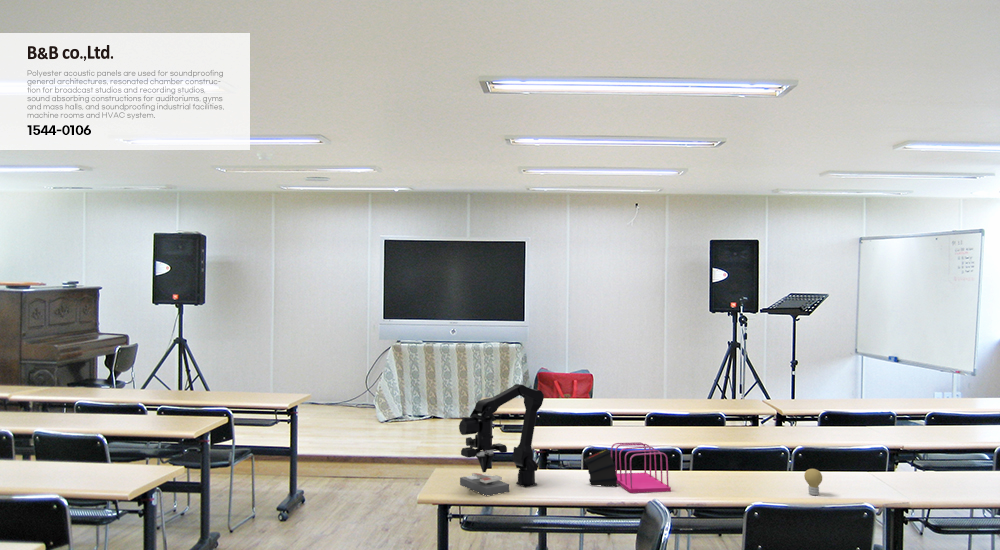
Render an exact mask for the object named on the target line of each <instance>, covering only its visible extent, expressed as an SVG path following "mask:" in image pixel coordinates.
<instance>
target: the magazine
mask: <svg viewBox="0 0 1000 550" xmlns="http://www.w3.org/2000/svg"><path fill="white" fill-rule="evenodd" d="M583 460H584V464H585V466H586V467H587V469H588V471H587V472H588V475H589V484H591V485H601V486H600V487H613V486H616V487H618V485H617V484H618V483H617V476H616V465H615V461H613V456H612V457H611V450H609V448H603V450H600V451H598V452H596V453H594V454H591V455H589V456H587V457H585V458H584V459H583ZM591 485H590V486H591Z"/></svg>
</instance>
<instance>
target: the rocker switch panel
mask: <svg viewBox="0 0 1000 550" xmlns="http://www.w3.org/2000/svg"><path fill="white" fill-rule="evenodd" d="M459 484H460V486H462V487H464V486H465V487H464V488H466V487H467V488H466V489H468V488H469V489H468V490H471V489H472V490H471V491H473V490H474V491H473V492H475V491H477V492H476V493H478V492H479V493H478V494H480V493H481V494H480V495H482V494H484V495H483V496H485V495H486V496H485V497H488V496H487V495H490V496H494V495H493V494H495V495H499V494H498V493H501V494H504V492H506V493H509V492H510V483H508V482H504V481H502V480H498V481H494V482H489V483H483V482H481V481H480V478H477V477H474V476H472V475H467V476H461V477H459Z"/></svg>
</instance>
